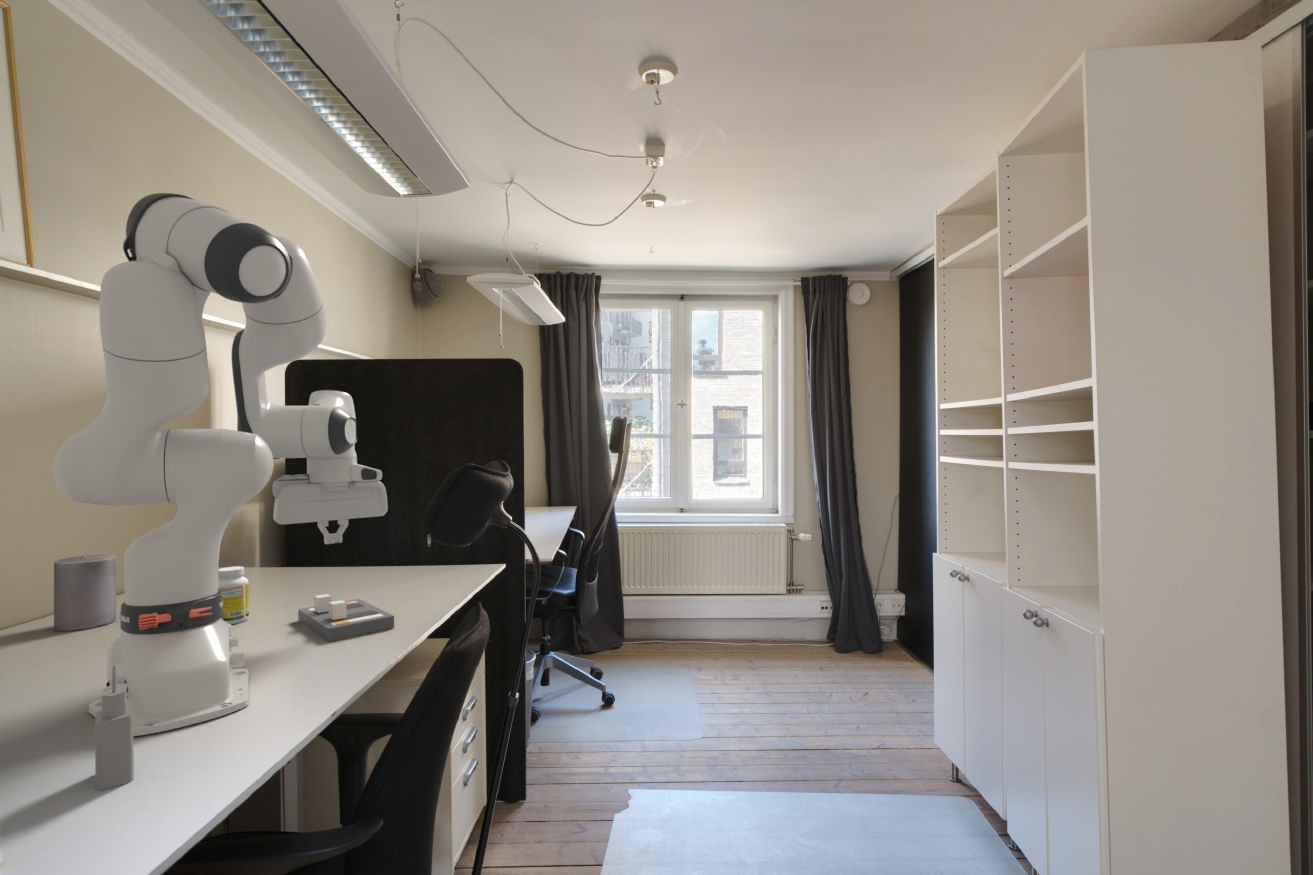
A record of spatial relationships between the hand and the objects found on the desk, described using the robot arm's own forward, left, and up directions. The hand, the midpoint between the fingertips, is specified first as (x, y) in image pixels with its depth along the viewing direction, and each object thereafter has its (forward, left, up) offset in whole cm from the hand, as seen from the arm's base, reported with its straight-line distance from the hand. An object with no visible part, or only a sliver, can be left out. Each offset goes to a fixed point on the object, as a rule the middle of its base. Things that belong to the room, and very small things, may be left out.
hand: (333, 543), depth 126 cm
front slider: (-2, 0, -14) cm, 14 cm away
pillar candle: (+42, +35, -17) cm, 58 cm away
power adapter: (-43, +35, -17) cm, 58 cm away
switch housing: (+2, -3, -17) cm, 17 cm away
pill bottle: (+22, +13, -17) cm, 31 cm away
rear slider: (+6, 0, -14) cm, 16 cm away
